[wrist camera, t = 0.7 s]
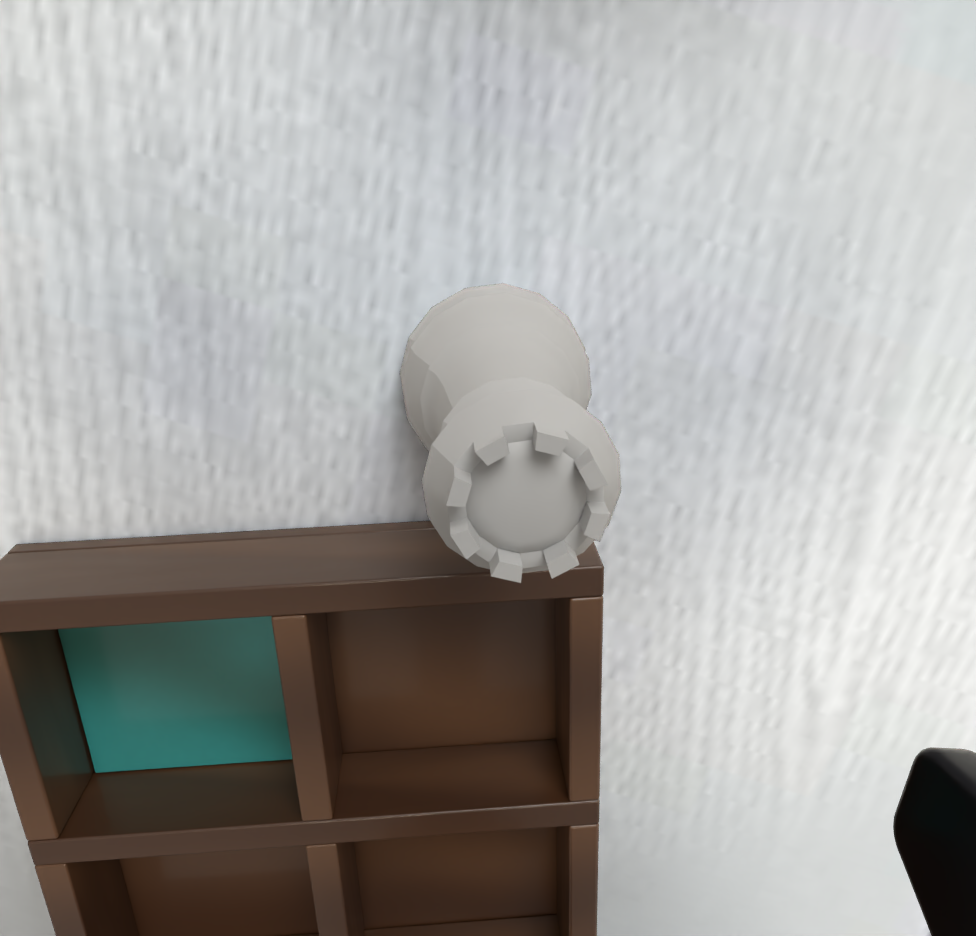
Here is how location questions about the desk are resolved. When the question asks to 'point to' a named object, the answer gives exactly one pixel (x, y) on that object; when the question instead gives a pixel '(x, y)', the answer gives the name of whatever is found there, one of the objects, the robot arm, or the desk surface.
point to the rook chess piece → (508, 431)
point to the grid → (303, 735)
